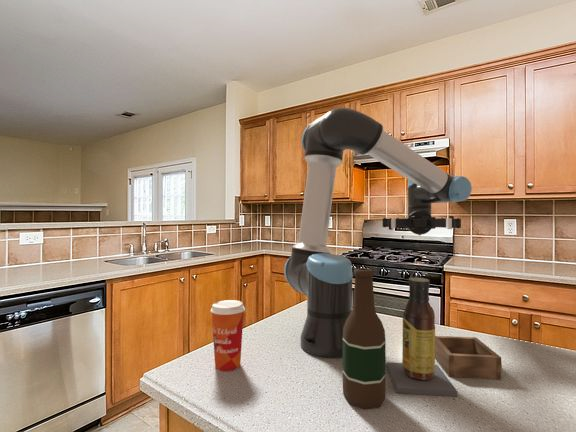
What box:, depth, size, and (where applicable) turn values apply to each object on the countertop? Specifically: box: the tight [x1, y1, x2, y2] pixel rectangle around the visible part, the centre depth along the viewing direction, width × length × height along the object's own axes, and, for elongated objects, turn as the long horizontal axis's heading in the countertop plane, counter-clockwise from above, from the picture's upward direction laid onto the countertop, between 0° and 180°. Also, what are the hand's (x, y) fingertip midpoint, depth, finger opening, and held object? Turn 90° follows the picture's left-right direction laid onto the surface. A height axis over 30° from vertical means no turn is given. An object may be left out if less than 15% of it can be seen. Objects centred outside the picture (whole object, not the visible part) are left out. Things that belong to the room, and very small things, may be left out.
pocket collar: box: [435, 335, 502, 380], centre depth 74 cm, size 10×11×4 cm
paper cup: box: [210, 299, 246, 372], centre depth 74 cm, size 8×8×14 cm
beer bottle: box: [342, 267, 387, 410], centre depth 61 cm, size 8×8×24 cm
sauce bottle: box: [401, 277, 436, 380], centre depth 67 cm, size 6×6×20 cm
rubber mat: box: [386, 361, 458, 397], centre depth 67 cm, size 11×11×1 cm
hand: (420, 223), depth 83 cm, fingers open, 13 cm apart
